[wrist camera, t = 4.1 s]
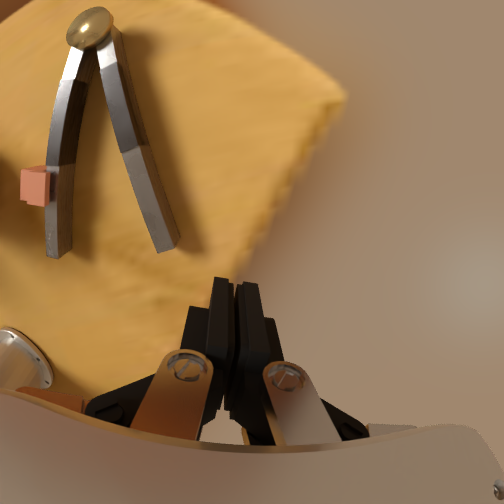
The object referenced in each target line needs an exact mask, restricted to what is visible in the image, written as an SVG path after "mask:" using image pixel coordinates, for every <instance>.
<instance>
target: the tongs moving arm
mask: <svg viewBox="0 0 504 504" xmlns="http://www.w3.org/2000/svg"><path fill="white" fill-rule="evenodd" d="M96 48H97V54H98V59H99V65H100V74H101V79H102V83H103V88H104V92H105V97H106V101H107V105H108V109H109V113H110V117H111V121H112V124H113V128H114V132H115V135H116V139H117V142H118V146H119V149H120V152H121V153H122V156H123V159H124V162H125V165H126V168H127V172H128V175H129V178H130V181H131V184H132V187H133V190H134V192H135V195H136V198H137V201H138V204H139V207H140V209H141V212H142V215H143V217H144V220H145V223H146V225H147V228H148V231H149V233H150V236H151V238H152V241H153V243H154V246H155V248H156V251H157V253H161V252H164V251H167V250H171V249H174V248H175V247H176V245H177V243H178V241H179V239H180V234H179V231H178V229H177V226H176V223H175V220H174V218H173V215H172V212H171V209H170V206H169V204H168V201H167V198H166V195H165V192H164V189H163V186H162V183H161V180H160V177H159V174H158V171H157V168H156V165H155V161H154V158H153V155H152V152H151V149H150V145H149V142H148V139H147V135H146V132H145V129H144V125H143V122H142V118H141V115H140V111H139V107H138V104H137V100H136V96H135V92H134V88H133V85H132V81H131V77H130V72H129V68H128V64H127V60H126V55H125V51H124V46H123V41H122V37H121V32H120V31H119V30H118V29H117V28H116V27H115V26H114V25H113V26H112V29H111V31H110V32H109V34H108V35H107V37H106V38H105V39H104V40H103V41H102V42H101V43H99V44H98V45H97V46H96Z"/></svg>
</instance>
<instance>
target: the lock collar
mask: <svg viewBox="0 0 504 504" xmlns="http://www.w3.org/2000/svg"><path fill="white" fill-rule="evenodd" d="M46 169H47V166H41V165H40V166H35V167H31V168H26V169H22V170H21V184H20V200H24V201H27V204H30V205H37V206H43V207H45V206H47V205H49V191H50V173H51V172H46Z"/></svg>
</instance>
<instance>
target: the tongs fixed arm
mask: <svg viewBox="0 0 504 504" xmlns="http://www.w3.org/2000/svg"><path fill="white" fill-rule="evenodd" d="M112 26H113V16H112V14H111V13H110V12H109V11H108V10H107V9H105V8H104V7H93V8H90V9H88V10H86V11H84V12H82V13H81V14H80V15H79V16H77V17H76V18H75V19H74V21H73V22H72V23H71V25H70V27H69V29H68V31H67V36H66V39H67V43H68V44H69V45H70V46H71V47H72V48H71V51H70V54H69V57H68V60H67V63H66V66H65V70H64V73H63V77H62V80H60V84H59V88H58V92H57V96H56V100H55V105H54V110H53V115H52V121H51V126H50V133H49V140H48V147H47V156H46V166H47V169H46V172H51V173H50V191H49V205H47V206H45V237H46V253H47V256H48V257H52V258H56V259H59V258H60V257H62V256H63V255H64V254H66V253H67V252H68V251H69V250H71V249H72V201H73V184H74V172H75V162H76V154H77V146H78V140H79V133H80V127H81V122H82V116H83V111H84V107H85V102H86V98H87V93H88V89H89V85H90V82H91V78H92V74H93V71H94V67H95V64H96V61H97V58H98V54H97V48H96V46H97V45H98V44H99V43H101V42H102V41H103V40H104V39H105V38H106V37H107V35H108V34H109V32H110V31H111V29H112Z"/></svg>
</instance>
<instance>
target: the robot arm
mask: <svg viewBox="0 0 504 504" xmlns="http://www.w3.org/2000/svg"><path fill="white" fill-rule="evenodd" d="M53 378H54V377H53V372H52V370H51V367H50V365H49V363H48V361H47V360H46V358H45V357H44V356H43V354H42V353H41V352H40V350H39V349H38V348H37V347H36V346H35V345H34V344H33V343H32V342H31V341H30V340H29V339H28V338H26V337H25V336H24V335H23V334H21V333H20V332H18V331H16V330H14V329H12V328H9V327H4V328H1V329H0V504H504V472H503V470H502V468H501V466H500V464H499V463H498V461H497V459H496V457H495V456H494V454H493V452H492V450H491V449H490V448H489V446H488V444H487V443H486V442H485V440H484V439H483V438H482V436H481V435H480V434H479V433H478V432H477V431H476V430H475V429H473V428H470V427H467V426H463V425H456V424H438V425H431V426H425V427H419V428H417V427H416V426H412V425H385V424H384V425H383V424H367V425H366V426H364V425H363V424H362V423H361V422H359V421H358V420H356V419H354V418H353V417H351V416H349V415H348V414H346V413H344V412H343V411H341V410H339V409H338V408H336V407H334V406H333V405H331V404H329V403H328V402H326V401H324V400H323V399H321V398H320V397H319V396H318V393H317V391H316V389H315V387H314V385H313V383H312V382H311V380H310V378H309V376H308V374H307V373H306V372H305V370H303V369H302V368H301V367H299V366H298V365H296V364H294V363H290V362H287V361H284V357H283V353H282V349H281V345H280V340H279V337H278V332H277V328H276V324H275V320H274V319H273V318H267V317H264V315H263V310H262V304H261V299H260V294H259V288H258V284H256V283H250V282H243V284H242V285H239V284H237V288H236V292H235V296H234V285H233V283H229V279H226V278H220V277H214V282H213V288H212V294H211V300H210V306H209V309H206V308H200V307H195V306H189V310H188V315H187V319H186V324H185V328H184V333H183V337H182V342H181V347H180V349H179V350H175V351H172V352H170V353H168V354H167V355H166V356H165V357H164V359H163V360H162V362H161V364H160V366H159V368H158V370H157V372H156V373H155V374H153V375H150V376H148V377H146V378H143V379H141V380H138V381H136V382H133V383H131V384H128V385H126V386H123V387H121V388H118V389H116V390H113V391H110V392H108V393H105V394H102V395H100V396H97V397H95V398H94V399H92V400H91V401H90V400H84V399H83V396H77V395H70V394H64V393H58V392H53V391H48V390H43V389H46V388H49V387H50V386H51V384H52V382H53ZM40 388H41V389H40ZM223 395H224V410H226V411H230V419H233V420H235V421H236V422H238V423H239V424H240V425H241V426H242V429H241V430H242V436H243V441H244V445H233V444H220V443H210V442H201V441H199V440H200V437H201V432H202V428H203V425H205V424H206V423H208V422H210V421H211V420H213V419H214V418H215V416H216V412H217V410H220V407H221V403H222V399H223Z"/></svg>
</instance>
